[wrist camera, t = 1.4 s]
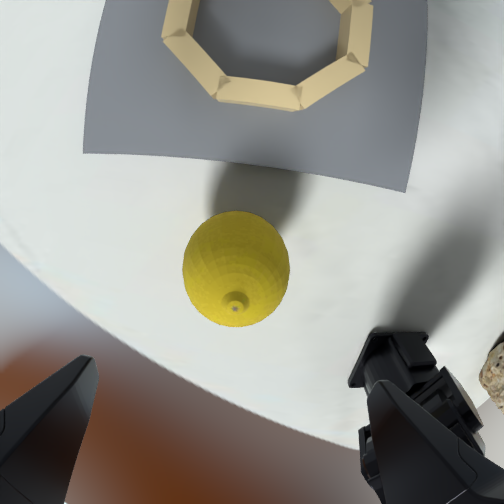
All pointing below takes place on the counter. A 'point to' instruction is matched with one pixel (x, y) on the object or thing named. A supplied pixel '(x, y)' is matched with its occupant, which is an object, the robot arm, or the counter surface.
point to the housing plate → (262, 84)
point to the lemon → (236, 269)
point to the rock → (494, 376)
